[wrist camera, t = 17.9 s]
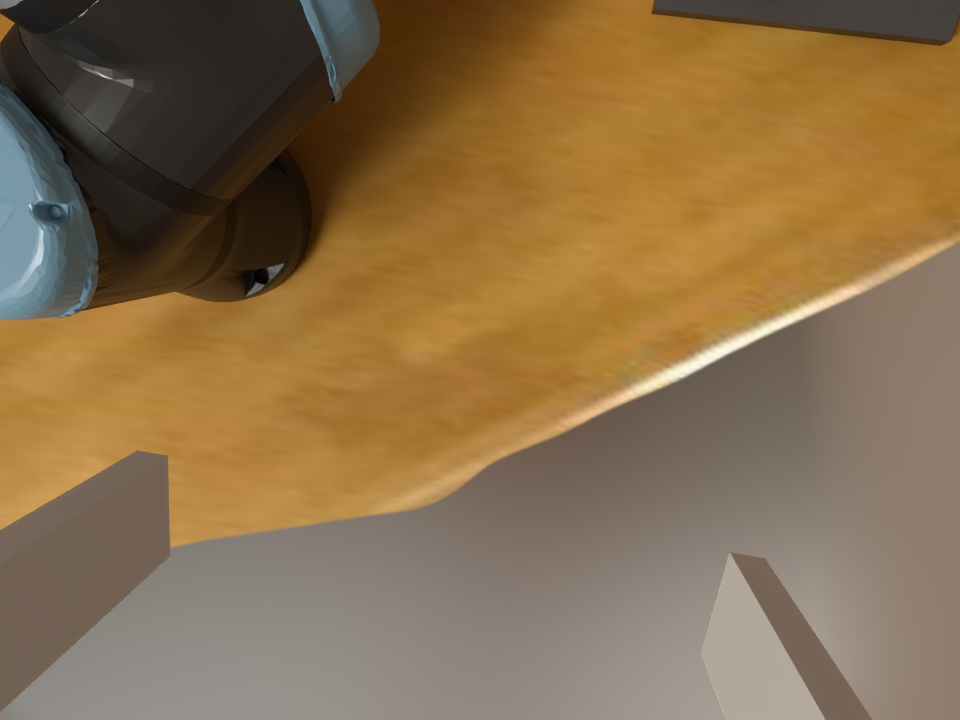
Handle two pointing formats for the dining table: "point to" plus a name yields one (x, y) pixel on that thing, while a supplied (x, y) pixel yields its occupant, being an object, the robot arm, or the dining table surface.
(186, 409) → the dining table surface
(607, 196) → the dining table surface
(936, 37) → the plate
